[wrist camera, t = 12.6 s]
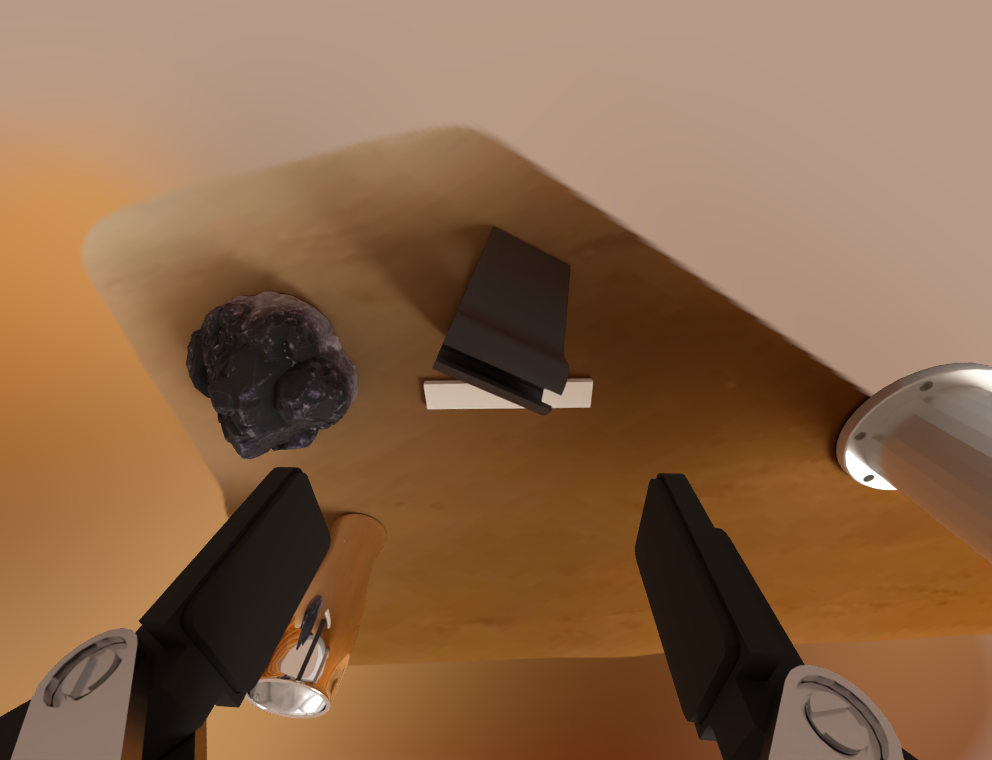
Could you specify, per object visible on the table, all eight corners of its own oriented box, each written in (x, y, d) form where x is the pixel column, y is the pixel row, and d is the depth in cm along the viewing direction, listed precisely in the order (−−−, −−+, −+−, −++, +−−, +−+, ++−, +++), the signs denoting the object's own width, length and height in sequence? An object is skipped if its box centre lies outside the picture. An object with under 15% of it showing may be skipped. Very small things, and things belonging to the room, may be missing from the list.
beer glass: (403, 533, 40) (350, 704, 27) (366, 559, 43) (301, 726, 29) (353, 500, 38) (268, 669, 25) (317, 529, 40) (222, 696, 27)
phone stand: (494, 225, 24) (480, 256, 14) (570, 264, 25) (611, 322, 15) (445, 335, 28) (406, 425, 18) (512, 366, 29) (513, 467, 19)
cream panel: (591, 378, 30) (593, 381, 29) (588, 403, 31) (590, 407, 30) (425, 380, 30) (423, 384, 30) (428, 405, 32) (427, 409, 31)
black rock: (215, 397, 33) (124, 484, 25) (193, 255, 26) (54, 314, 18) (362, 429, 36) (323, 519, 27) (381, 309, 28) (335, 382, 20)
